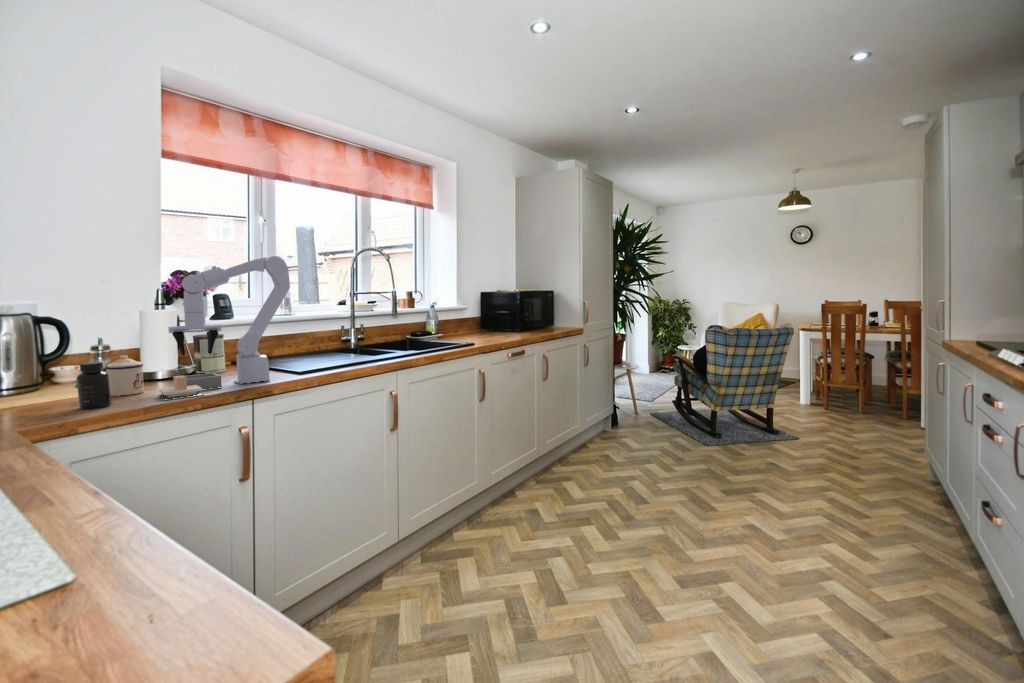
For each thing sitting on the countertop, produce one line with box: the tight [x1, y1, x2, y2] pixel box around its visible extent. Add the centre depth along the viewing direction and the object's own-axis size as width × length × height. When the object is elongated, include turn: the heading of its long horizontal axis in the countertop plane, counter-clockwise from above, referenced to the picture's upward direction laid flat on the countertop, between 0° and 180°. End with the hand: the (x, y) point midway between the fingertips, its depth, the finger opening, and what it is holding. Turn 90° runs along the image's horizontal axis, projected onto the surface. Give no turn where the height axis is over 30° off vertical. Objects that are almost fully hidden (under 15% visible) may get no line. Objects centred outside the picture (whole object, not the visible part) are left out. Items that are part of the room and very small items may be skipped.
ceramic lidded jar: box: [105, 354, 145, 397], centre depth 160 cm, size 12×9×12 cm
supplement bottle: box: [75, 361, 112, 410], centre depth 141 cm, size 7×7×12 cm
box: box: [184, 373, 223, 389], centre depth 166 cm, size 10×8×4 cm
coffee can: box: [192, 333, 226, 374], centre depth 201 cm, size 10×10×14 cm
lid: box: [158, 374, 203, 397], centre depth 155 cm, size 10×8×5 cm
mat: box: [158, 391, 202, 401], centre depth 155 cm, size 10×9×1 cm
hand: (196, 354), depth 171 cm, fingers open, 7 cm apart
